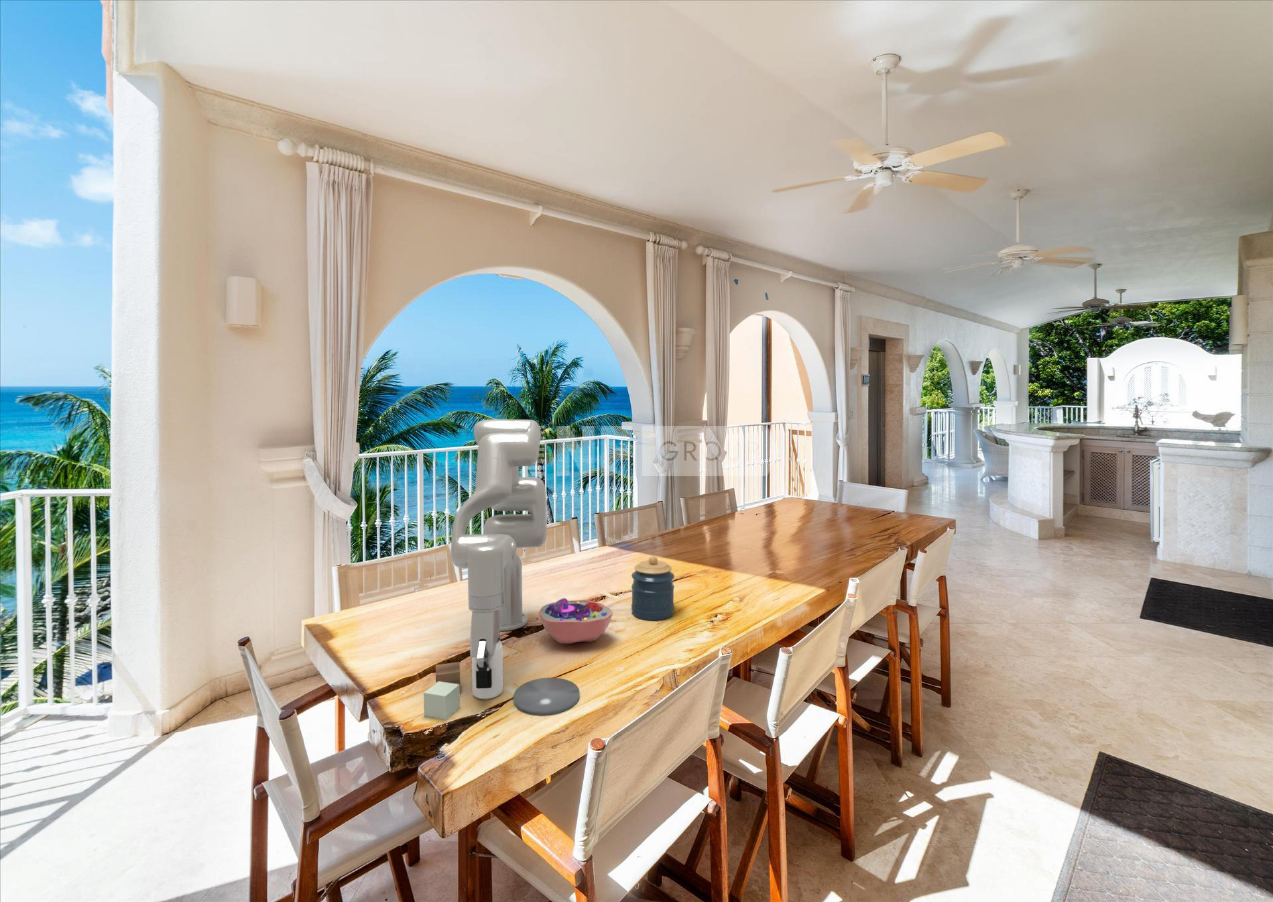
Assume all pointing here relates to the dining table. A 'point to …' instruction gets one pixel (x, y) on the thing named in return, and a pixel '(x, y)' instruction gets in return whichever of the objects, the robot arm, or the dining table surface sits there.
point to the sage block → (441, 700)
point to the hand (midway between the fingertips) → (487, 677)
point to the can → (496, 675)
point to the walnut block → (448, 673)
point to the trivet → (546, 696)
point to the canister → (652, 590)
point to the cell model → (575, 620)
